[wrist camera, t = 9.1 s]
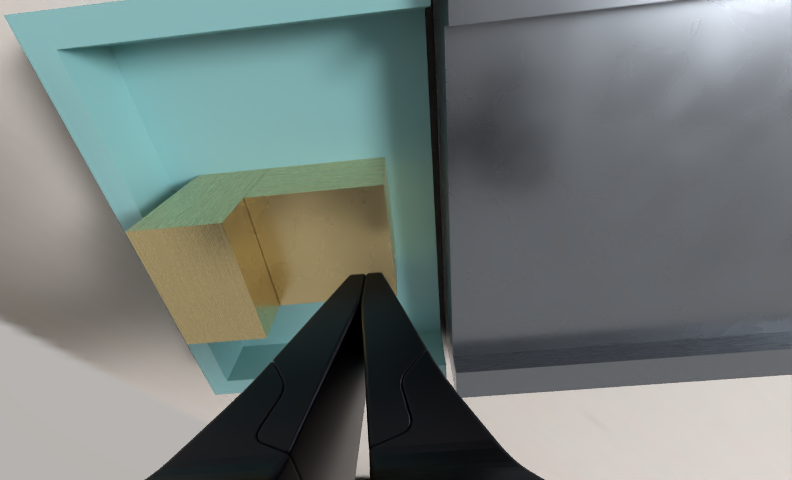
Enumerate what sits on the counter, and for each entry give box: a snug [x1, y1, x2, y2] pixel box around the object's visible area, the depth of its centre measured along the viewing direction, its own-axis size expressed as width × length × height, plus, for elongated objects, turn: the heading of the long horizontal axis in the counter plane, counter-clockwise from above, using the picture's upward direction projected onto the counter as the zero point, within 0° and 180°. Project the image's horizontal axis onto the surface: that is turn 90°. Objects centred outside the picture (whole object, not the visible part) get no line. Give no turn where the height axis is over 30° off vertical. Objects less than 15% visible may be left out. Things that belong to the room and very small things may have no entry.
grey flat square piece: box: [433, 0, 792, 398], centre depth 12 cm, size 14×14×3 cm
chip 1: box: [125, 168, 280, 344], centre depth 12 cm, size 4×4×2 cm
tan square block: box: [244, 157, 397, 305], centre depth 12 cm, size 4×4×2 cm
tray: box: [4, 0, 446, 395], centre depth 13 cm, size 14×10×2 cm
